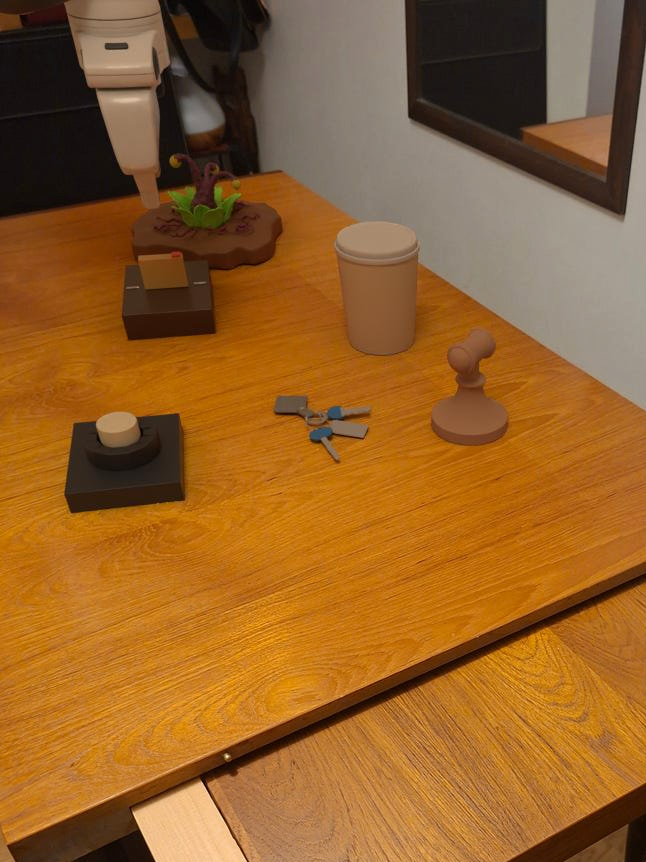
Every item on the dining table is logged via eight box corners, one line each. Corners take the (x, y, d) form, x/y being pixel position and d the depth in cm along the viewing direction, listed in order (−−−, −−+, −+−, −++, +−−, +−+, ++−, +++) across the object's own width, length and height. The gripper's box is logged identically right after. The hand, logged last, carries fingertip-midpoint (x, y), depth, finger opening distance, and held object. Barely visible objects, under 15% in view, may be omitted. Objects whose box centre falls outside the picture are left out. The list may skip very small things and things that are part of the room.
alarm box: (71, 514, 81) (57, 477, 78) (79, 442, 89) (67, 406, 86) (184, 501, 83) (176, 464, 80) (183, 431, 91) (175, 396, 88)
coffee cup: (434, 332, 108) (434, 230, 100) (397, 366, 102) (393, 260, 94) (367, 315, 111) (361, 214, 102) (327, 347, 105) (317, 242, 96)
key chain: (262, 405, 95) (261, 398, 94) (328, 381, 99) (327, 374, 98) (336, 465, 88) (335, 458, 87) (404, 437, 92) (403, 430, 91)
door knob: (527, 330, 88) (487, 363, 83) (521, 418, 95) (483, 453, 90) (458, 309, 91) (415, 340, 86) (456, 396, 98) (416, 430, 93)
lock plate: (127, 340, 104) (121, 314, 102) (131, 288, 114) (125, 263, 112) (216, 333, 106) (211, 307, 104) (212, 283, 116) (207, 258, 114)
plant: (156, 211, 132) (138, 127, 124) (289, 216, 132) (280, 132, 125) (117, 267, 118) (94, 176, 110) (266, 273, 118) (253, 182, 110)
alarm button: (99, 450, 82) (94, 434, 81) (101, 429, 84) (96, 413, 83) (140, 446, 83) (136, 430, 82) (141, 425, 85) (137, 409, 84)
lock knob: (145, 289, 107) (137, 258, 104) (145, 284, 108) (137, 253, 105) (188, 286, 108) (182, 255, 105) (188, 281, 109) (181, 250, 106)
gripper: (94, 22, 97) (126, 161, 107) (81, 72, 83) (119, 226, 93) (155, 21, 98) (181, 158, 108) (152, 70, 84) (182, 223, 94)
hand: (152, 190), depth 100 cm, fingers open, 8 cm apart
